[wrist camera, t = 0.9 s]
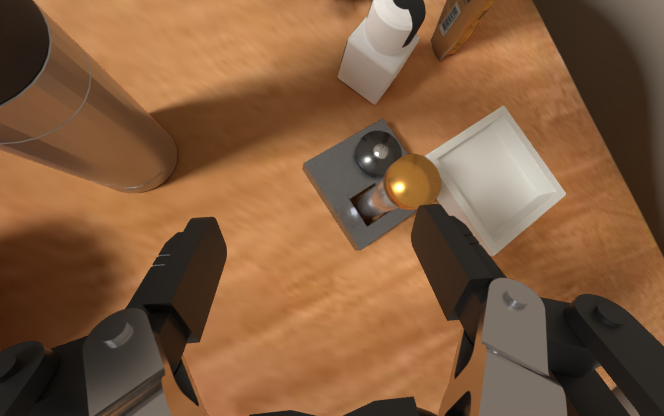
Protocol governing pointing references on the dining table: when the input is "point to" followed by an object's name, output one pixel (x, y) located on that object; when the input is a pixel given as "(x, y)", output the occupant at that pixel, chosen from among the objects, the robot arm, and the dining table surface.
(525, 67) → the dining table surface
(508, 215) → the tray
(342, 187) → the grey flat square block
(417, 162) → the pin
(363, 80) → the medicine bottle
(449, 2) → the pancake mix bag
